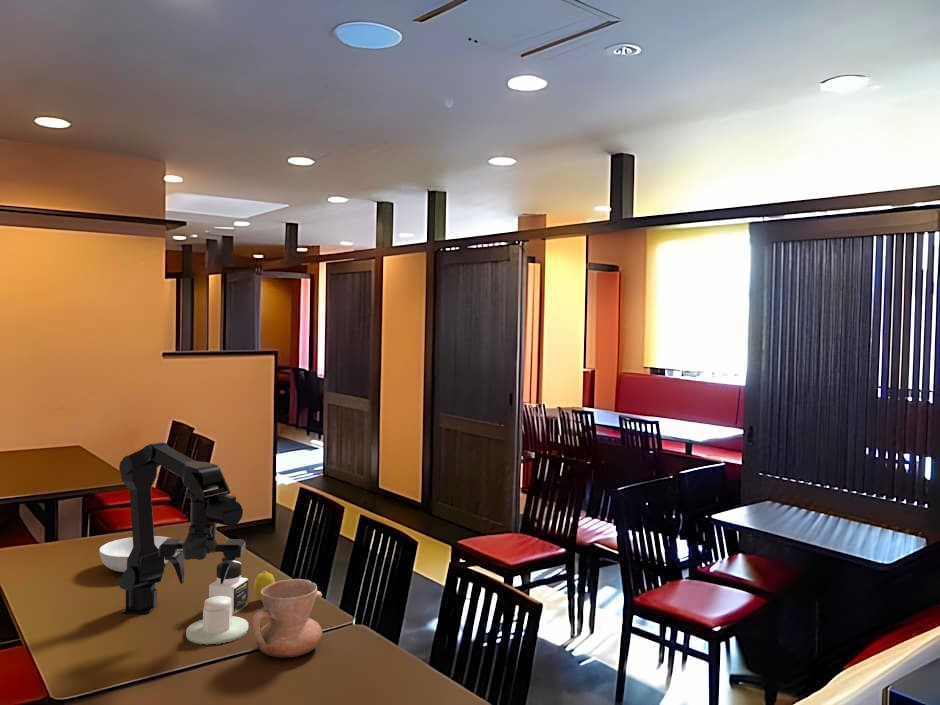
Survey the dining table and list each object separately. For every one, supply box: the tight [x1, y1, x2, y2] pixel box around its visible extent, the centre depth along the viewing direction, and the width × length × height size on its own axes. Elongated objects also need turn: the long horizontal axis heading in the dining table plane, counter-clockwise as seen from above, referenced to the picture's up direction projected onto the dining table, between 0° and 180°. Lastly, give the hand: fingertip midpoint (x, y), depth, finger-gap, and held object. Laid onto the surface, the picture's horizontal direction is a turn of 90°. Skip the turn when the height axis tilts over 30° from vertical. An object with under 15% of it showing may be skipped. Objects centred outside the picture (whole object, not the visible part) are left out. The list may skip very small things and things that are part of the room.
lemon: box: [253, 570, 276, 600], centre depth 190 cm, size 6×6×8 cm
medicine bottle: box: [208, 560, 249, 616], centre depth 185 cm, size 7×7×12 cm
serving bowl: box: [99, 535, 169, 573], centre depth 213 cm, size 21×21×7 cm
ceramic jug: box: [251, 578, 323, 659], centre depth 162 cm, size 18×14×14 cm
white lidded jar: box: [202, 596, 233, 633], centre depth 171 cm, size 6×6×6 cm
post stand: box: [185, 615, 249, 646], centre depth 171 cm, size 14×14×6 cm
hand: (202, 583), depth 171 cm, fingers open, 9 cm apart
